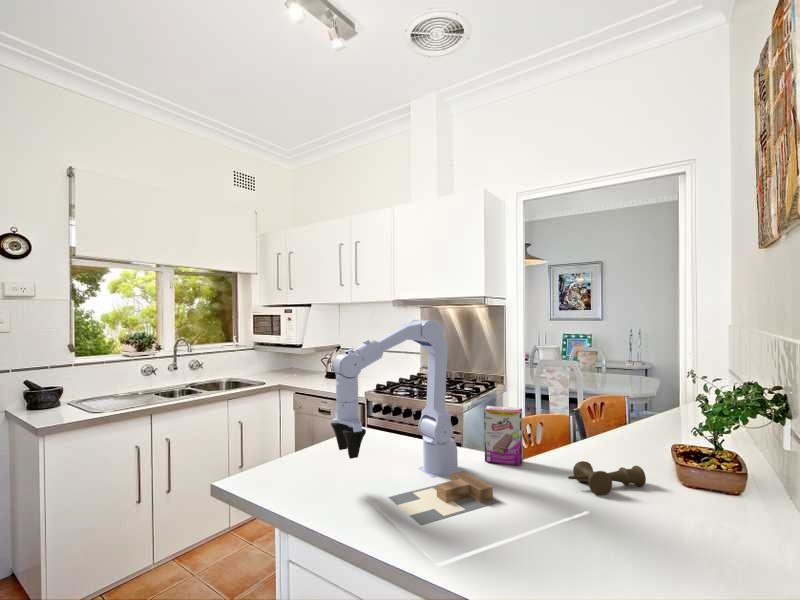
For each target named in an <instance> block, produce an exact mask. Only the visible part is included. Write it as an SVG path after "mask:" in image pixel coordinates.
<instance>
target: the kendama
mask: <svg viewBox="0 0 800 600" xmlns="http://www.w3.org/2000/svg"><path fill="white" fill-rule="evenodd" d="M572 474H573V475H570V476H568V477H567V478H568V480H576V481H577V482H580V483H588V487H589V489H590V491H591V493H592V494H594V495H595V496H604V495H608V494H609V493H610V492H611V490H612V489H613V482H618V483H621V484H623V485H624V486H629V485H630V484H631V485H636V486H639V487H644V486H645V484H646V483H647V482H646V481H647V480H646V473H645V472H644V470H643V468H642V467H641V466H639V465H633V466H632V467H631V468H626V467H619V468H618V470H615V471H611V472H606V471H603V470H597V471H594V469H593V466H592V464H591V463H590V462H588V461H584V460H582V461H578V462H576V463H575V464H574V466H573V469H572Z"/></svg>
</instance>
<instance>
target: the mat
mask: <svg viewBox="0 0 800 600" xmlns="http://www.w3.org/2000/svg"><path fill="white" fill-rule="evenodd" d="M388 499H389V500H390V501H392V502H393V503H394V504H395V505H396V506H398V507H399V508H400V509H401V510H403V512H404V513H406V514H407V515H408V516H409V517H410V518H412V519H413V520H414V521H415V522H416V523H418V524H419V525H420V526H424V525H428V524H430V523H434V522H437V521H441V520H445V519H448V518H450V517H455V516H458V515H462V514H464V513H468V512H471V511H476V510H477V509H482V508H486V507H490V506H492V505H495V504H498V503H500V501H499V500H497V499H496V498H494V497H493V499H492V500H489V501H485V502H482V503H479V502H478V501H476V500H474V499H473V498H471V497H467V498H463V499H459V500H456V501H452V502H448V503H445V502H444V501H442V500H441V499H439V498H438V497H437V484H435V485H432V486H427V487H423V488H420V489H415V490H411V491H408V492H403V493H399V494H396V495H391V496H388Z"/></svg>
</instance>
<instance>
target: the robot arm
mask: <svg viewBox="0 0 800 600" xmlns="http://www.w3.org/2000/svg"><path fill="white" fill-rule="evenodd" d="M408 340H409V341H412V342H414V343H417V344H418V345H421V347H423V348H424V350H425V351H427V355H428V356H427V358H428V359H427V381H426V383H427V384H426V403H425V404H426V406H425V407H424V408H423V409H422V410H421V416H420V419H419V421H418V431H419V432H420V434H421V435H422V444H423V445H422V447H423V449H422V450H423V453H422V454H423V466H420V467H419V466H418V468H417V469H418V470H420V471H421V472H422V473H424V474H425V475H428V476H429V477H430V478H437V477H440V476H445V475H450V474H452V473H456V472H460V469H459V467H458V448H457V443H456V441H455V440H454V439H453V438H452V436H453V434H454V427H453V424H452V421H451V414H450V412H449V411H448V409H447V408H446V398H447V397H446V392H447V367H448V366H447V365H448V363H447V362H448V344H447V342H446V339H445V335H444V327H443V326H442V325H441V324H440V323H439V322H438V321H436V320H435V319H428V320H427V319H426V320H422V319H420V320H419V319H413V320H411V321H410V322H407V323H404V324H403V325H402V326H400V327H398V328H397V329H395V330H393V331H392V332H390V333H389V334H387V335H386V336H384V337H382V338H381V339H379V340H374V339H370V340H369V339H365V340H363V341H362V342H363V343H362V344H361V345H359V346H356V347H355V348H349V349H348V350H347V353H340V354H339V355H337V356H335V359H334V360H333V364H331V368H332V371H333V372H334V374H335V398H336V399H335V400H336V401H335V403H336V409H335V410H336V412H334V418H332V419H331V423H330V426H331V428H332V429H333V432H334V435H335V437H336V438H335V439H336V444H337V446H338V447H337V448H338V450H339V451H343V450H347V453H348V458H349V459H350V460H351V459H355V458H359V454H360V450H361V445H362V442H363V439H364V437H365V435H366V433H367V430H366V429H365V428H363V424H362V422H361V420H360V419H361V418H360V415H359V411H360V410H359V375H360V374H361V372H362V370H363V369H365V368H367V367H368V366H371V365H372V364H374V363H375V362H377V361H379V360H380V359H382V358H383V354H384V352H386V351H388V350H389V349H392V348H394V347H396V346H398V345H400V344H402V343H404V342H405V341H408Z"/></svg>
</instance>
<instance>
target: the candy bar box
mask: <svg viewBox="0 0 800 600" xmlns="http://www.w3.org/2000/svg"><path fill="white" fill-rule="evenodd" d="M483 418H484V419H483V420H484V421H483V422H484V430H483V431H484V462H486V463H491V464H499V465H509V466H519V467H522V466H523V463H524V448H523V447H524V446H523V445H524V444H523V443H524V442H523V440H524V439H523V408H522V407H511V406H495V405H486V406H485V407H484V410H483Z"/></svg>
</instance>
